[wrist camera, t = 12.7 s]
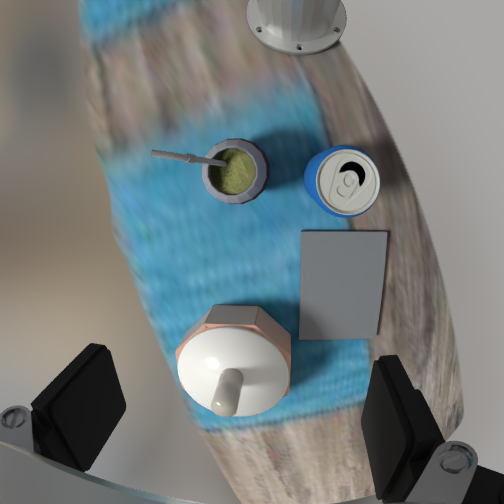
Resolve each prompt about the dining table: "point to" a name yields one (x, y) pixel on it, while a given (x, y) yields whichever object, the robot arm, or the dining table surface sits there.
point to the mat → (341, 284)
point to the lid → (233, 371)
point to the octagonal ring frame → (244, 318)
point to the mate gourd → (230, 169)
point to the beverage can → (342, 181)
